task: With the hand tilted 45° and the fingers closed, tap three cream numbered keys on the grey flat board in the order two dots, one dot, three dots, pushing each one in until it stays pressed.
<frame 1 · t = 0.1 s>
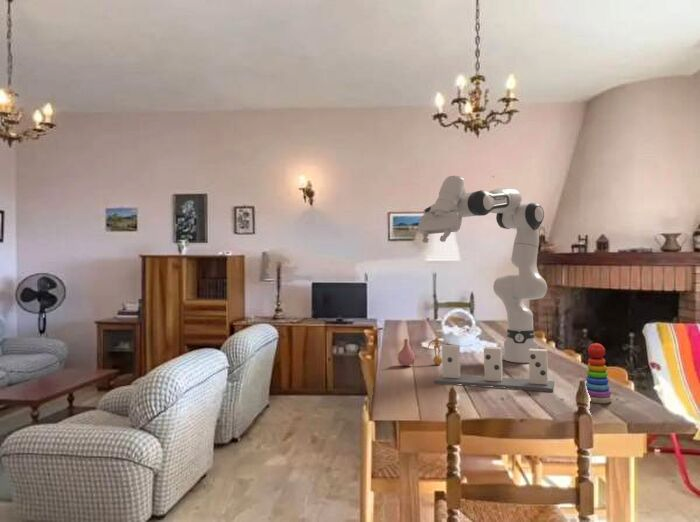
hand: (433, 241, 201), 54 cm above the table, tool tilted 30°, fingers open, 8 cm apart
key three: (538, 366, 186), point 7 cm above the table, slide at 0.0 cm
stacking toy: (598, 401, 166), on the table
key two: (493, 363, 193), point 7 cm above the table, slide at 0.0 cm
perfume bottle: (406, 366, 228), on the table
key one: (451, 361, 199), point 7 cm above the table, slide at 0.0 cm
figurine: (437, 364, 231), on the table
grey flat board: (493, 383, 192), on the table
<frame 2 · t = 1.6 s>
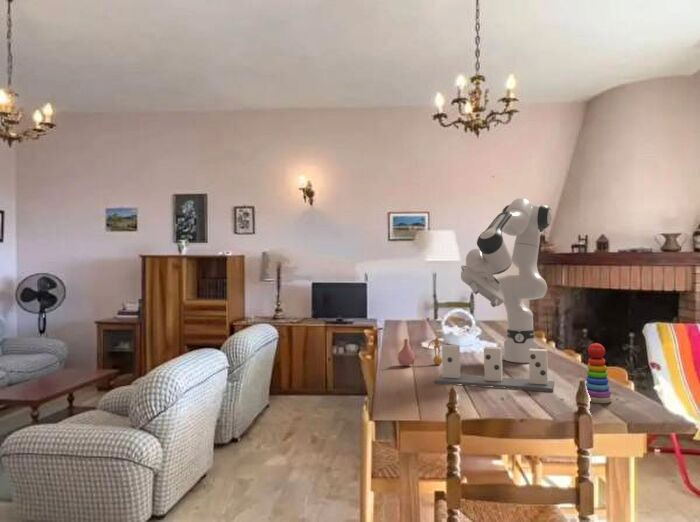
hand: (485, 299, 192), 32 cm above the table, tool tilted 55°, fingers open, 8 cm apart
nothing on the table moved.
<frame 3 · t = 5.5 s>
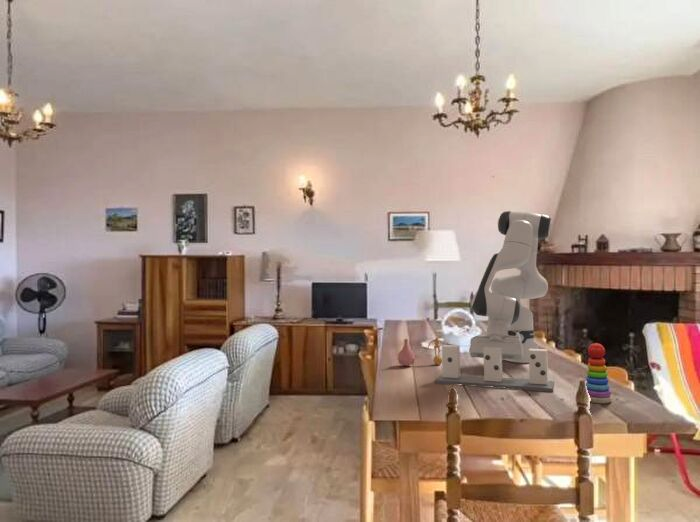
hand: (494, 366, 194), 6 cm above the table, tool tilted 45°, fingers closed, pressing on key two
key two: (492, 364, 192), point 7 cm above the table, slide at 0.8 cm, touching gripper
everything else where it was.
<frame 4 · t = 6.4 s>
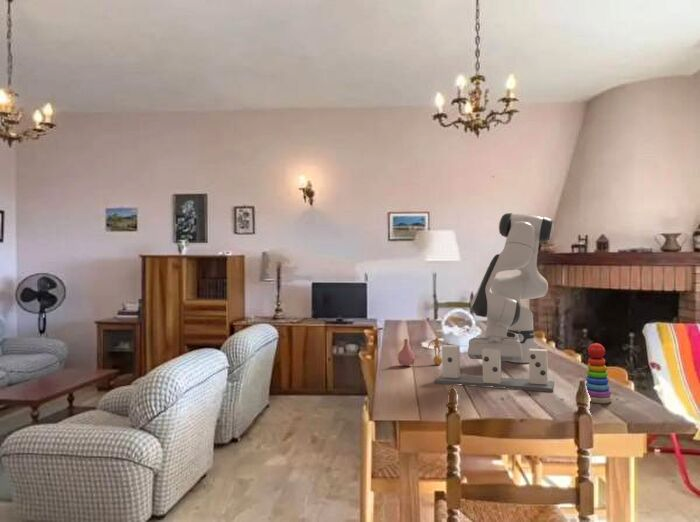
hand: (493, 368, 192), 6 cm above the table, tool tilted 45°, fingers closed
key two: (491, 365, 189), point 7 cm above the table, slide at 3.8 cm
everything else where it was.
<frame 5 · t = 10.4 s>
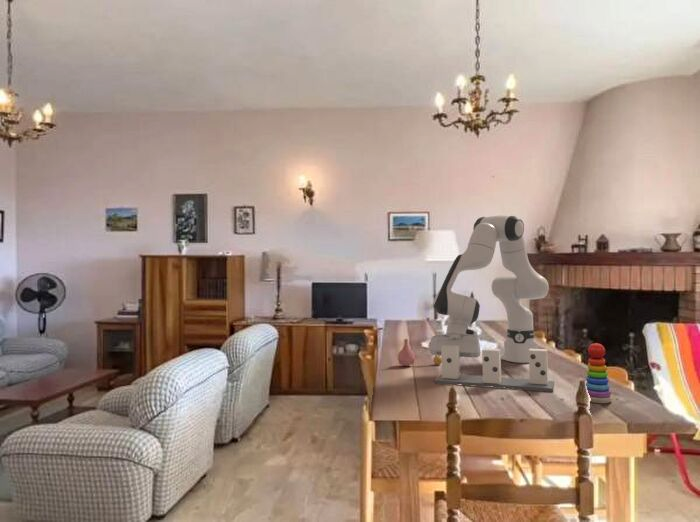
hand: (451, 363, 201), 6 cm above the table, tool tilted 45°, fingers closed, pressing on key one
key one: (450, 361, 198), point 7 cm above the table, slide at 1.1 cm, touching gripper
everything else where it was.
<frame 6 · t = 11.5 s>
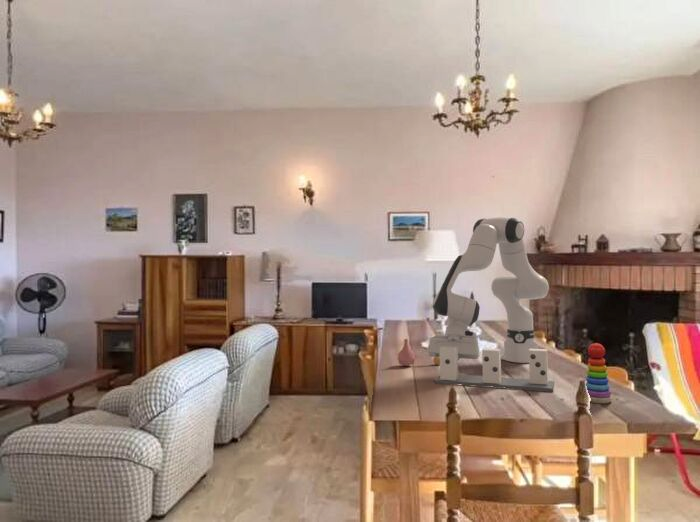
hand: (450, 365, 198), 6 cm above the table, tool tilted 45°, fingers closed
key one: (448, 363, 196), point 7 cm above the table, slide at 3.8 cm
everything else where it was.
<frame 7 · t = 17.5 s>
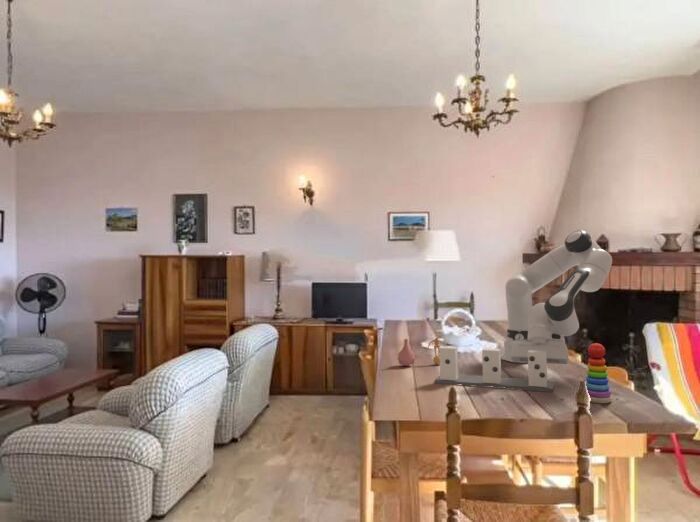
hand: (538, 371, 185), 6 cm above the table, tool tilted 45°, fingers closed, pressing on key three
key three: (537, 368, 183), point 7 cm above the table, slide at 3.8 cm, touching gripper
everything else where it was.
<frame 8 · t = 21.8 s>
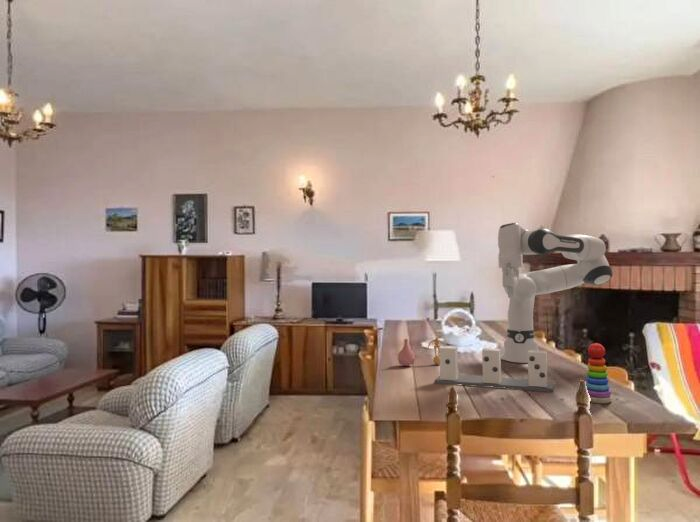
hand: (510, 297, 206), 31 cm above the table, tool pointing down, fingers closed
key three: (537, 368, 183), point 7 cm above the table, slide at 3.8 cm
everything else where it was.
at the end: key two slide at 3.8 cm; key one slide at 3.8 cm; key three slide at 3.8 cm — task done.
